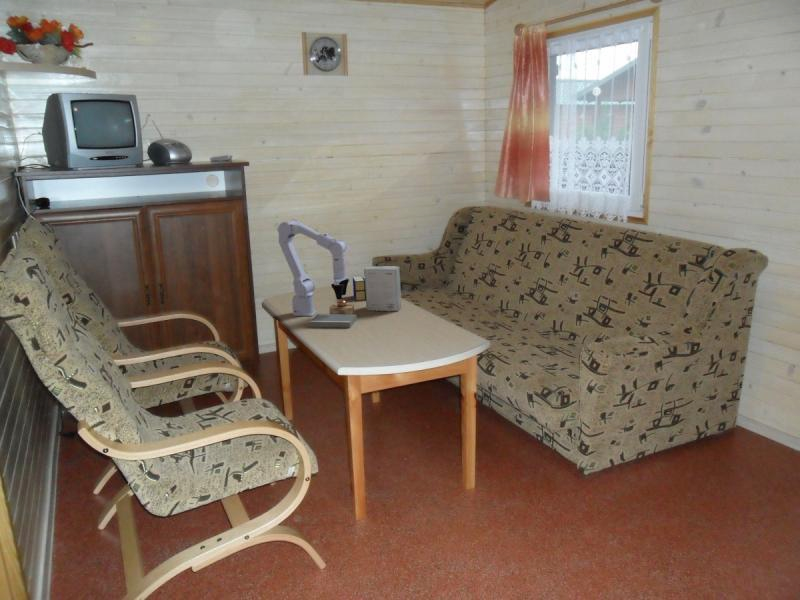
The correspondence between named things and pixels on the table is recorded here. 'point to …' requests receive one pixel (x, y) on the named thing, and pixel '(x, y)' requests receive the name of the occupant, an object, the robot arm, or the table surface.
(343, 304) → the brown rounded piece
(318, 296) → the table surface
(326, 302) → the table surface
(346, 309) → the tan rectangular block
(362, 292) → the puzzle cube
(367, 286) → the hard drive box
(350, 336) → the table surface
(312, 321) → the loading dock
